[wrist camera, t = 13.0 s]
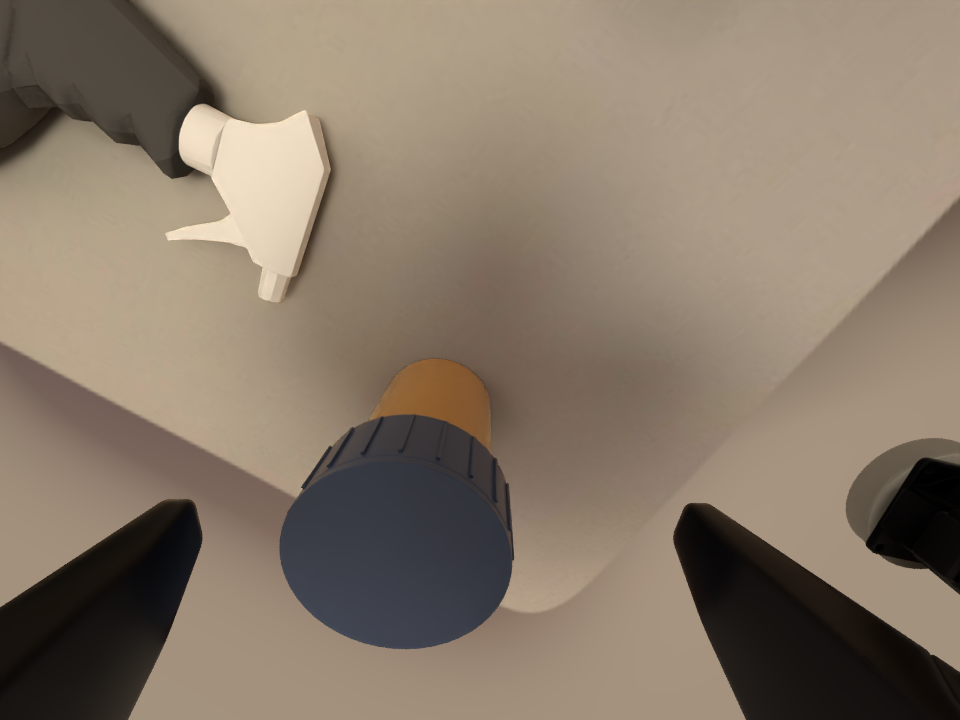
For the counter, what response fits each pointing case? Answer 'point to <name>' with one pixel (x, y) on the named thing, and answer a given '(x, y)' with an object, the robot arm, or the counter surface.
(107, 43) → the spray bottle
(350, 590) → the jar lid
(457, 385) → the jar
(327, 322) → the counter surface
